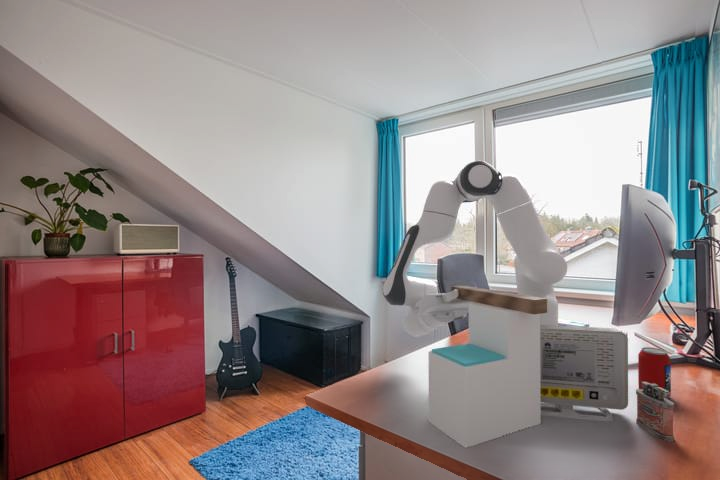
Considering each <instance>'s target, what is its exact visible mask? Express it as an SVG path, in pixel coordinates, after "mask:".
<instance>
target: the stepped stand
mask: <svg viewBox="0 0 720 480" xmlns="http://www.w3.org/2000/svg"><path fill="white" fill-rule="evenodd" d="M541 404H542V403H541V401H540V314H529V313H525V312H520V311H515V310H510V309H505V308H500V307H496V306H491V305H486V304H481V303H472V304H469V312H468V343H462V344H457V345H449V346H444V347H437V348H432V349H431V351H428V422H429V423H430V424H431V425H433V426H434V427H435V428H437V429H438V430H439V431H441V432H443V433H444V434H445V435H446V436H448V437H449V438H451V439H452V440H453V441H454V442H456V443H458V444H459V445H460V446H462V447H463V448H464V449H467V448H471V447H474V446H476V445H479V444H482V443H485V442H489V441H491V440H495V439H498V438H500V437H504V436H507V435H510V434H513V433H516V432H519V431H518V430H520V431H523V430H525V428H526V429H528V427H529V428H531V427H535V426H538V425H541V423H542V422H541V420H542V419H541V418H542V417H541V416H542V415H541V411H542V410H541V407H542V405H541ZM522 429H523V430H522ZM515 431H516V432H515ZM512 432H513V433H512ZM509 433H510V434H509ZM506 434H507V435H506ZM503 435H504V436H503Z"/></svg>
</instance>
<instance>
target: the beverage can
mask: <svg viewBox="0 0 720 480" xmlns="http://www.w3.org/2000/svg"><path fill="white" fill-rule="evenodd" d="M637 357H638V360H637V361H638V362H637V365H638V366H637V368H638V369H637V370H638V371H637V373H638V375H637V376H638V377H637V379H638V381H637V383H638V389H642V382H648V383H650V384H657V385H658V386H659V387H660V388H663V389H665V390H667V391H669V392H670V397H671V396H672V393H671V392H672V388H671V387H672V373H671V371H672V366H671V365H672V361H671V360H672V359H671V356H669V354H668V352H667V350H664V349H661V348H657V347H647V346H645V347H642V348H641V349H640V351H639V353H638V355H637ZM664 398H666V397H664ZM666 399H667V398H666Z"/></svg>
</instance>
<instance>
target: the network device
mask: <svg viewBox="0 0 720 480" xmlns="http://www.w3.org/2000/svg"><path fill="white" fill-rule="evenodd" d="M540 401H541V404H551V405H556V407H557V409H558V410H559V411H560V412H558V411H557V412H556V411H547V410H546V411H545V410H541V416H546V417H555V418H556V417H557V418H558V417H559V418H568V419H578V420H589V421H598V422H599V421H601V422H610V421H613V420H614V419H613V418H614V417H613V414H612V412H610V411H609V409H611V410H619V411H620V410H621V411H622V410H623V411H624V410H626V409H627V407H628V406H629V338H628V335H627V334H626V333H624V332H623V331H620V330H618V329H617V328H616V327H615V328H614V327H595V326H592V327H591V326H589V327H576V326H553V325H540ZM574 406H575V407H587V408H597V409H598V410H599V411H600V412H601V413H602V414H603V415H604V416H599V415H589V414H582V413H578V412H576V411H575V410H574Z"/></svg>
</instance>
